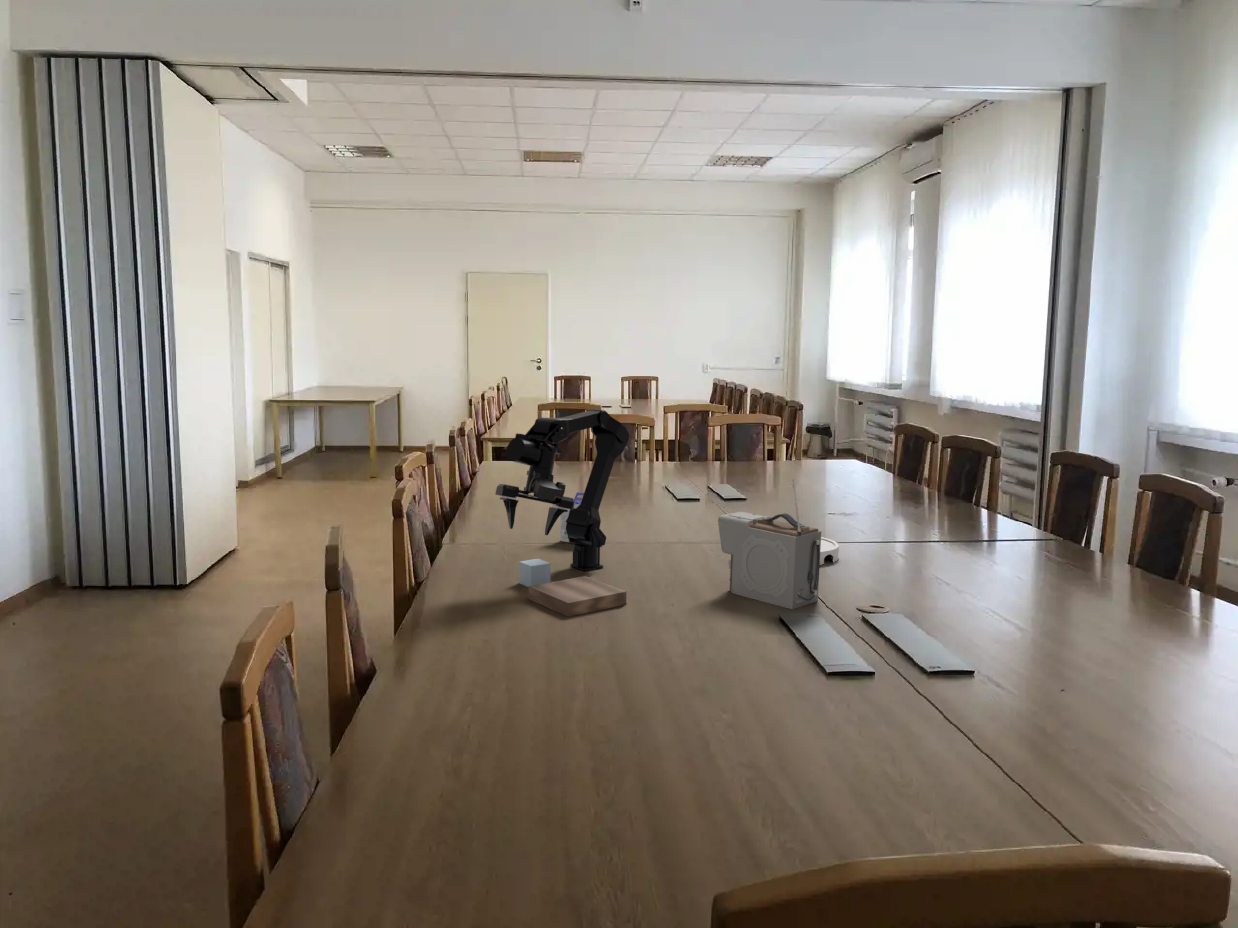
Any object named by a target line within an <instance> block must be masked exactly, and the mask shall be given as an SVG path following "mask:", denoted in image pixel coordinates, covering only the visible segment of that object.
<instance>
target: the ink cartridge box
mask: <svg viewBox="0 0 1238 928" xmlns="http://www.w3.org/2000/svg"><path fill="white" fill-rule="evenodd" d="M583 495H584V492H583V493H582V492H576V493H575V496H574V497H573V499H574V502H575V504H574V508H577V507H578V506H579V505H580V504H581V501H582V498H583ZM578 496H582V497H578ZM566 510H568V512H563V513H562V514H561V515H560V523H559V524H560V525H559V526H560V527H559V528H560V530H559V541H560V542H564V543H569V539H568V535H567V531H566V524H567V523H566V520H567V518H568V516H569V511H570V509H566Z"/></svg>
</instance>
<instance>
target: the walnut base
mask: <svg viewBox="0 0 1238 928" xmlns="http://www.w3.org/2000/svg"><path fill="white" fill-rule="evenodd" d="M528 600H530V601H532V602H535V603H537V604H540V605H542V606H544V607H546V608H548V609H551V610H552V611H555V612H557V613H559V614H561V615H564V616H566V617H573V616H578V615H581V614H585V613H591V612H597V611H600V610H605V609H611V608H615V607H620V606H624V605H627V591H626V590H623V589H620V588H619V587H616V586H613V585H611V584H607V583H604V582H601V581H600V580H597V579H593V578H592V577H588V576H586V575H584V576H577V577H571V578H568V579H567V578H566V579H562V580H557V581H550V583H544V584H538V585H533V586H529V587H528Z"/></svg>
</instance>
